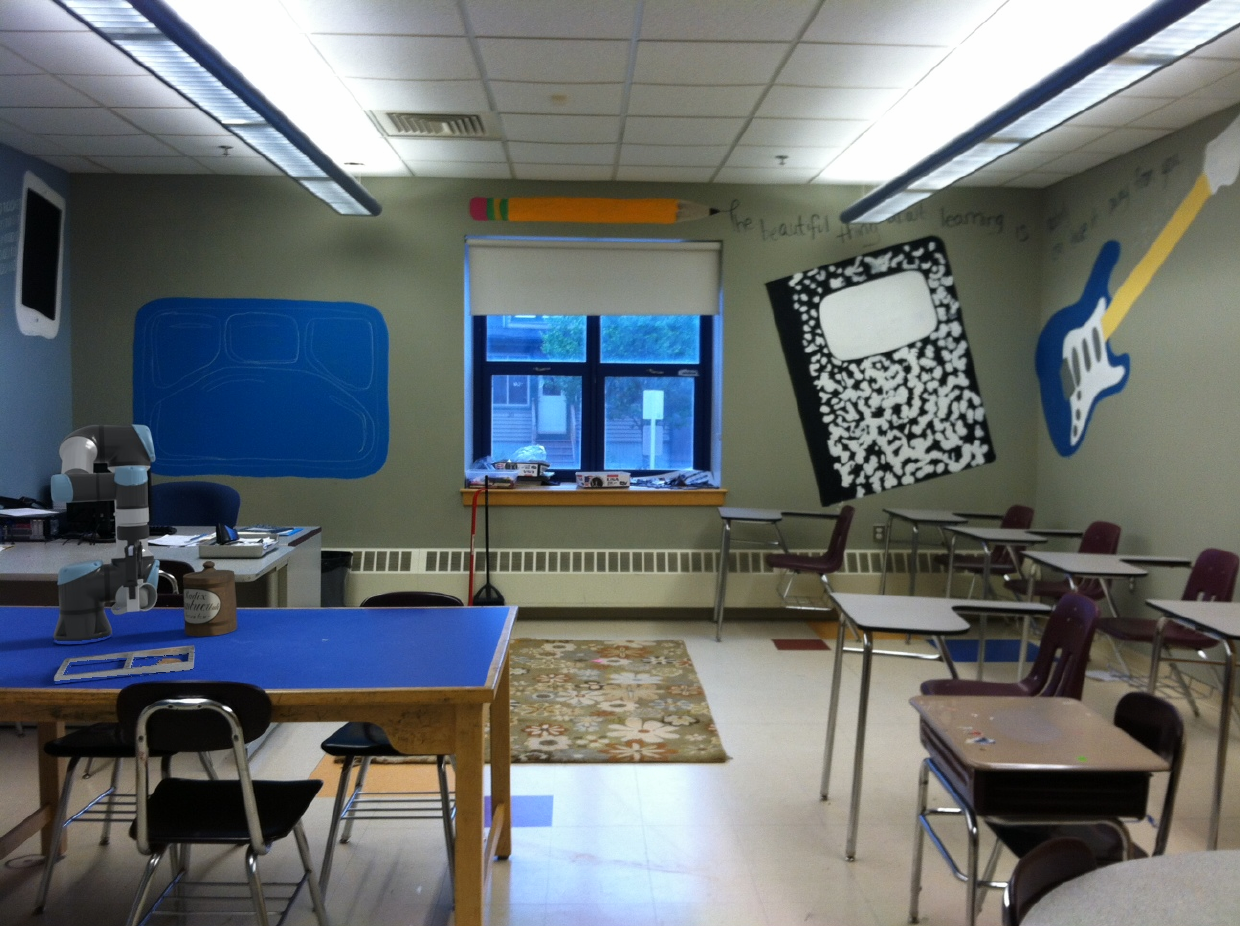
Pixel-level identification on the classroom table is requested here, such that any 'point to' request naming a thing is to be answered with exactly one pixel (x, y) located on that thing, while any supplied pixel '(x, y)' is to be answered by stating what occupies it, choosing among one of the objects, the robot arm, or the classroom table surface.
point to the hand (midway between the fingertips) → (135, 607)
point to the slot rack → (162, 666)
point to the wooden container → (209, 602)
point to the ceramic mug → (145, 598)
